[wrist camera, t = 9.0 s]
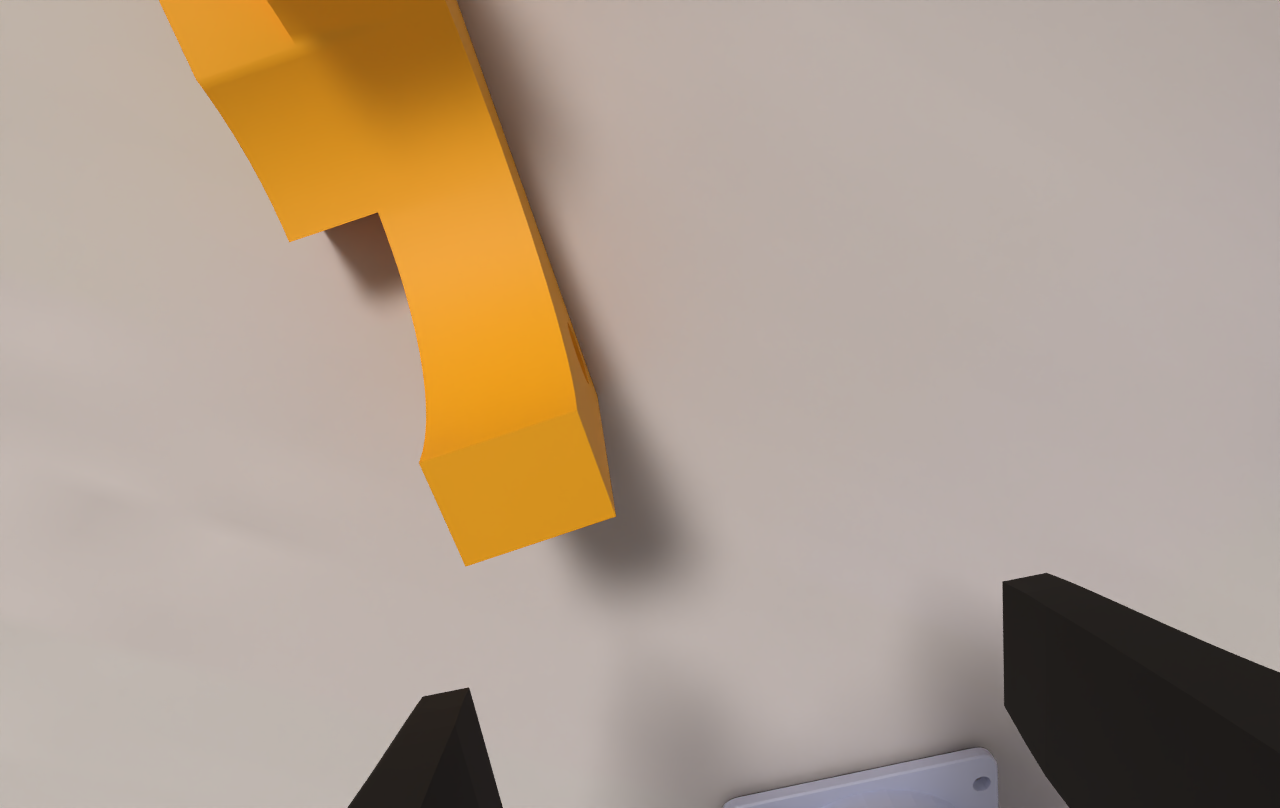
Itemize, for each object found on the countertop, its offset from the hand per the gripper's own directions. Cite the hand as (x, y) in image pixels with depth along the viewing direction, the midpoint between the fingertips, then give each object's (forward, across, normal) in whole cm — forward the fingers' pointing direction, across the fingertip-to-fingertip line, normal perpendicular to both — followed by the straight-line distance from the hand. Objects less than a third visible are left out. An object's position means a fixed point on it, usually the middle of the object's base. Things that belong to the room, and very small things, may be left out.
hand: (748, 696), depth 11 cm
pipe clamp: (+10, +4, -7) cm, 13 cm away
